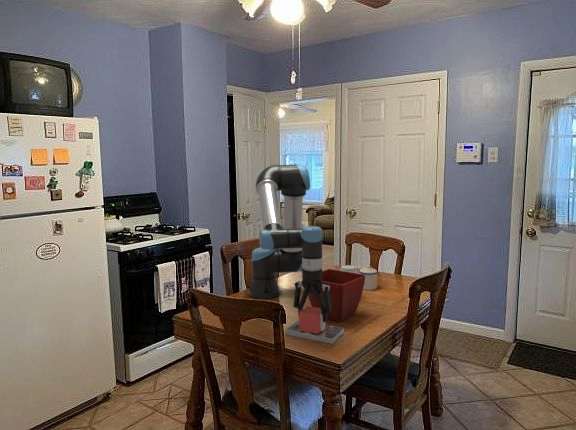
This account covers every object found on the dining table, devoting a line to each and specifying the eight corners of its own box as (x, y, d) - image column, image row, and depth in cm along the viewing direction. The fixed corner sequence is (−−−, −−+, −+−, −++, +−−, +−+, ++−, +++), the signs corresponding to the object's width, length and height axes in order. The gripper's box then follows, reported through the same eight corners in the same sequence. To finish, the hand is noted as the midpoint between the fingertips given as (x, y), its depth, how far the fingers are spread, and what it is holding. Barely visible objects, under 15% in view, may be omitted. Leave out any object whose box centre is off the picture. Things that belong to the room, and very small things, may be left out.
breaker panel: (286, 334, 163) (285, 327, 162) (299, 324, 172) (299, 318, 172) (332, 344, 154) (332, 337, 153) (343, 333, 163) (343, 326, 163)
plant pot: (329, 304, 196) (329, 268, 194) (366, 313, 184) (366, 274, 182) (303, 316, 182) (303, 277, 180) (342, 326, 170) (342, 285, 168)
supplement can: (356, 300, 201) (357, 269, 199) (339, 299, 202) (339, 268, 200) (357, 295, 208) (357, 265, 207) (340, 294, 210) (340, 264, 208)
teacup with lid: (378, 286, 223) (378, 264, 222) (376, 291, 215) (376, 268, 213) (355, 284, 227) (355, 262, 226) (352, 289, 219) (352, 266, 217)
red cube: (299, 330, 160) (298, 312, 160) (307, 323, 167) (307, 306, 166) (317, 333, 157) (317, 315, 156) (325, 326, 163) (325, 309, 163)
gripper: (283, 267, 161) (284, 326, 164) (333, 274, 151) (334, 336, 154) (292, 263, 167) (293, 320, 170) (341, 269, 158) (341, 329, 160)
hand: (312, 327), depth 162 cm, fingers closed on red cube, 7 cm apart
